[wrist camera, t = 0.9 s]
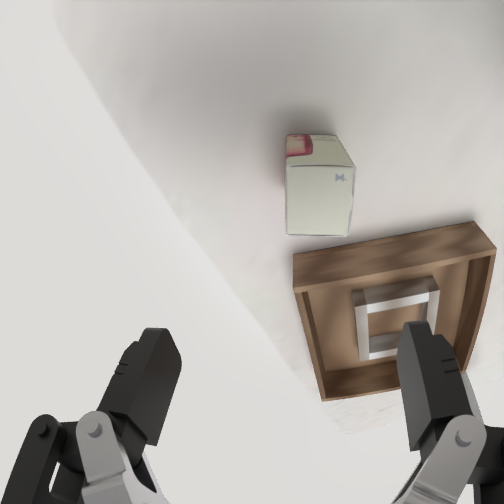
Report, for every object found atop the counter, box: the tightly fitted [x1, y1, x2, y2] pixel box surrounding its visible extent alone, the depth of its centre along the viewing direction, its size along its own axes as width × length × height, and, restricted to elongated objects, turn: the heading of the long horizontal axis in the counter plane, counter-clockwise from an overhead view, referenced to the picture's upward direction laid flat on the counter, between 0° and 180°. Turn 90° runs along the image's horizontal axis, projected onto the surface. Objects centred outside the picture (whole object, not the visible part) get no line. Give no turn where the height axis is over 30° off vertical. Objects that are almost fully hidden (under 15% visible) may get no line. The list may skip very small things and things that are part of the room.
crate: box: [293, 221, 497, 402], centre depth 32 cm, size 19×19×5 cm
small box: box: [285, 135, 356, 237], centre depth 23 cm, size 5×4×8 cm
